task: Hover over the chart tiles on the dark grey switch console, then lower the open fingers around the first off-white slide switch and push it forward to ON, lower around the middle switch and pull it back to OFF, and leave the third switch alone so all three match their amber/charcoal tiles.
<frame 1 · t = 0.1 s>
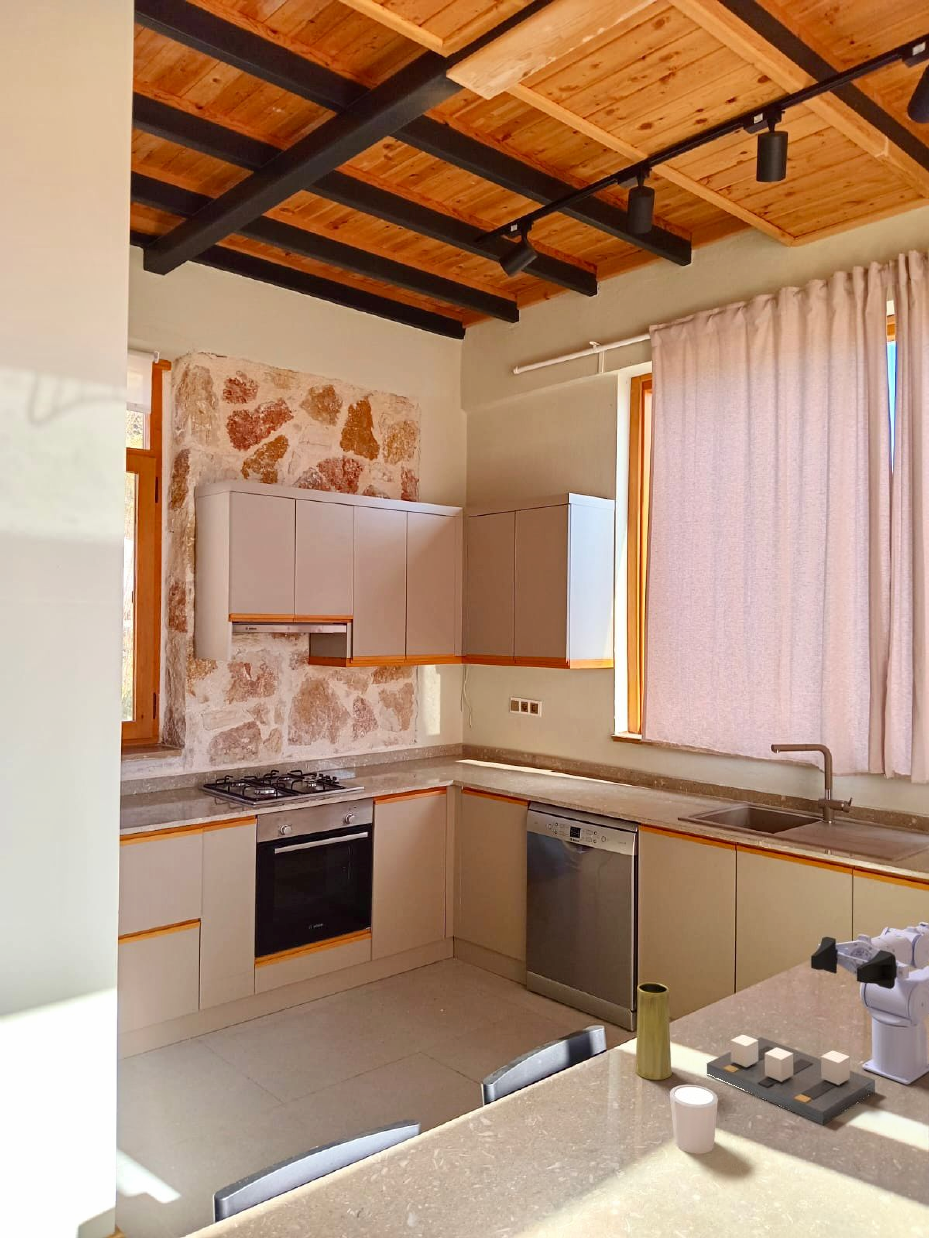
hand: (835, 968, 149), 22 cm above the countertop, tool horizontal, fingers open, 7 cm apart
switch b: (779, 1064, 154), point 4 cm above the countertop, slide at 6.5 cm
vase: (653, 1073, 160), on the countertop
switch c: (744, 1050, 159), point 4 cm above the countertop, slide at 6.5 cm
switch a: (835, 1067, 153), point 4 cm above the countertop, slide at 0.5 cm
console: (789, 1083, 156), on the countertop
white cup: (693, 1144, 138), on the countertop
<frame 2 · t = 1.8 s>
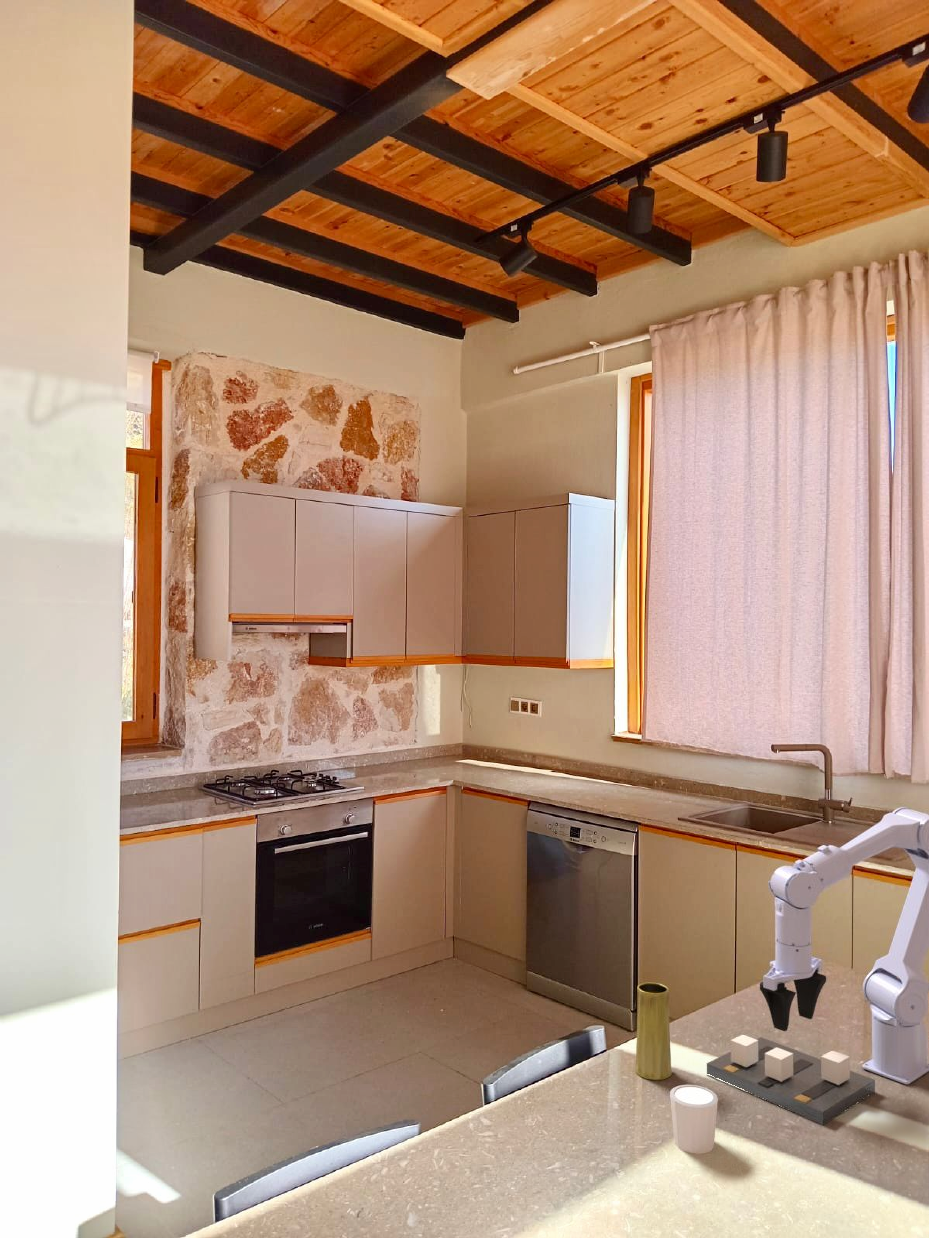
hand: (793, 1022, 157), 10 cm above the countertop, tool pointing down, fingers open, 7 cm apart
nothing on the countertop moved.
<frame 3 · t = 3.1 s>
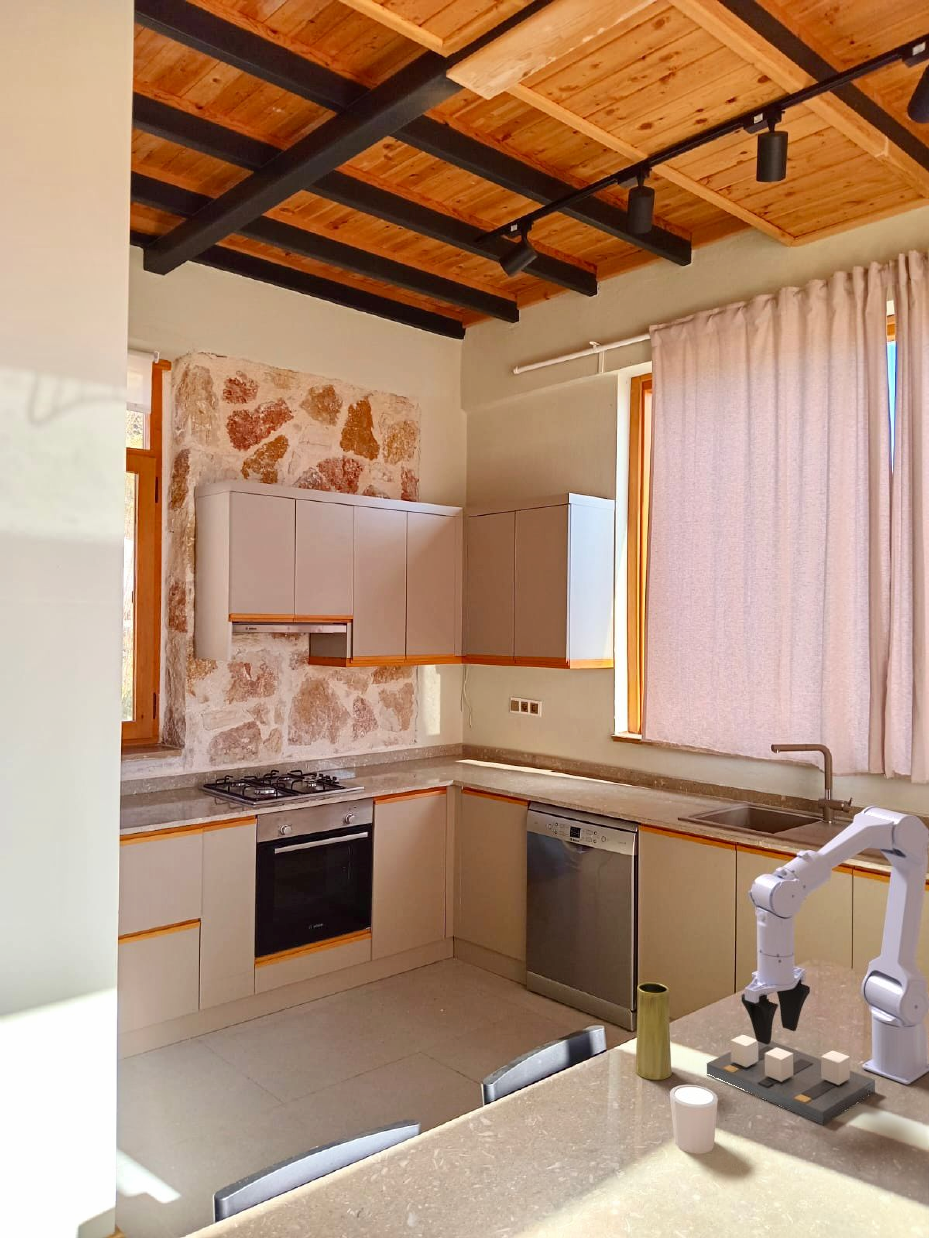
hand: (776, 1035, 153), 9 cm above the countertop, tool pointing down, fingers open, 7 cm apart
nothing on the countertop moved.
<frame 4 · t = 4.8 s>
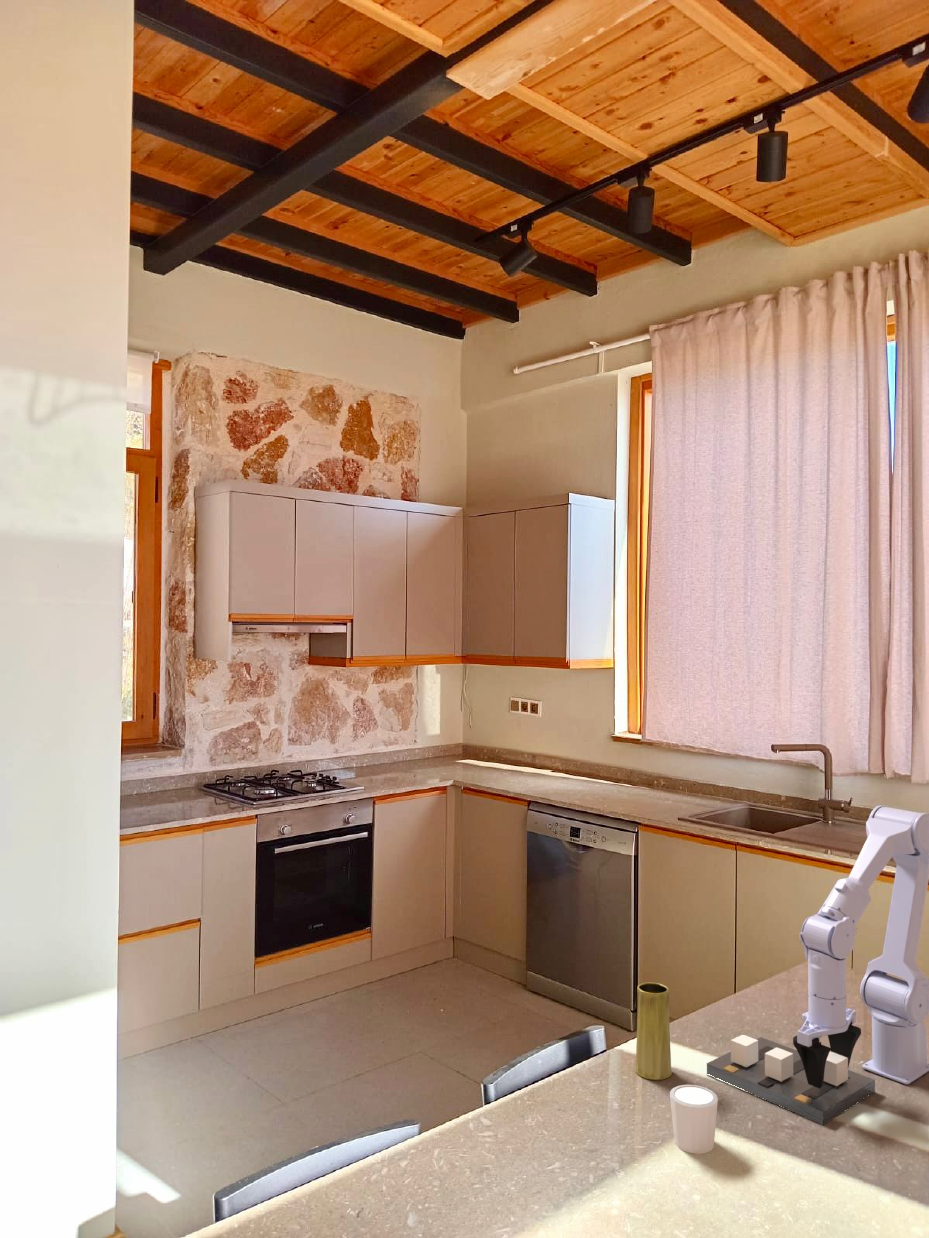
hand: (827, 1078, 151), 3 cm above the countertop, tool pointing down, fingers open, 7 cm apart
switch a: (833, 1068, 153), point 4 cm above the countertop, slide at 1.1 cm, touching gripper
everything else where it was.
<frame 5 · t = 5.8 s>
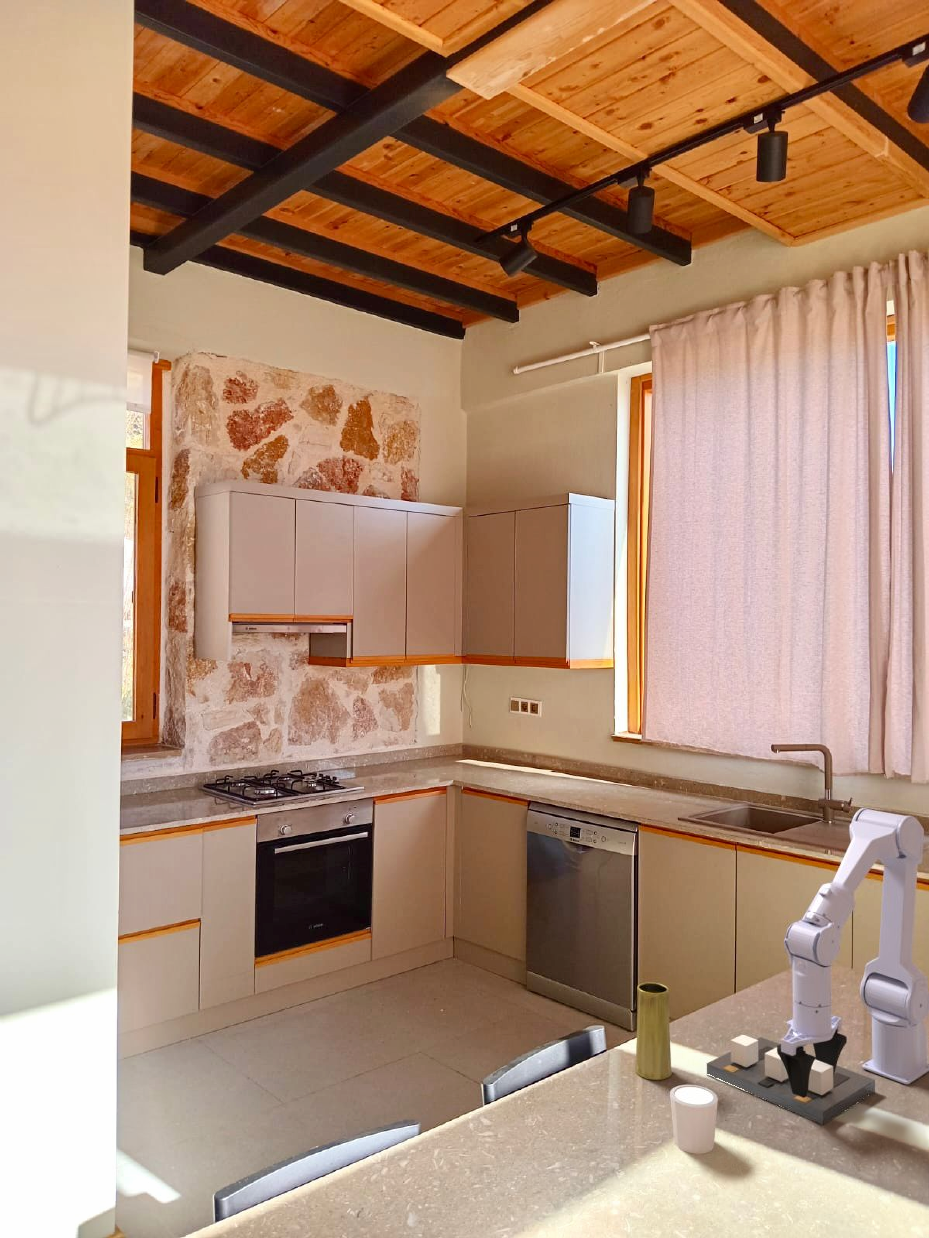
hand: (812, 1087, 149), 3 cm above the countertop, tool pointing down, fingers open, 7 cm apart
switch a: (818, 1076, 150), point 4 cm above the countertop, slide at 5.7 cm, touching gripper
everything else where it was.
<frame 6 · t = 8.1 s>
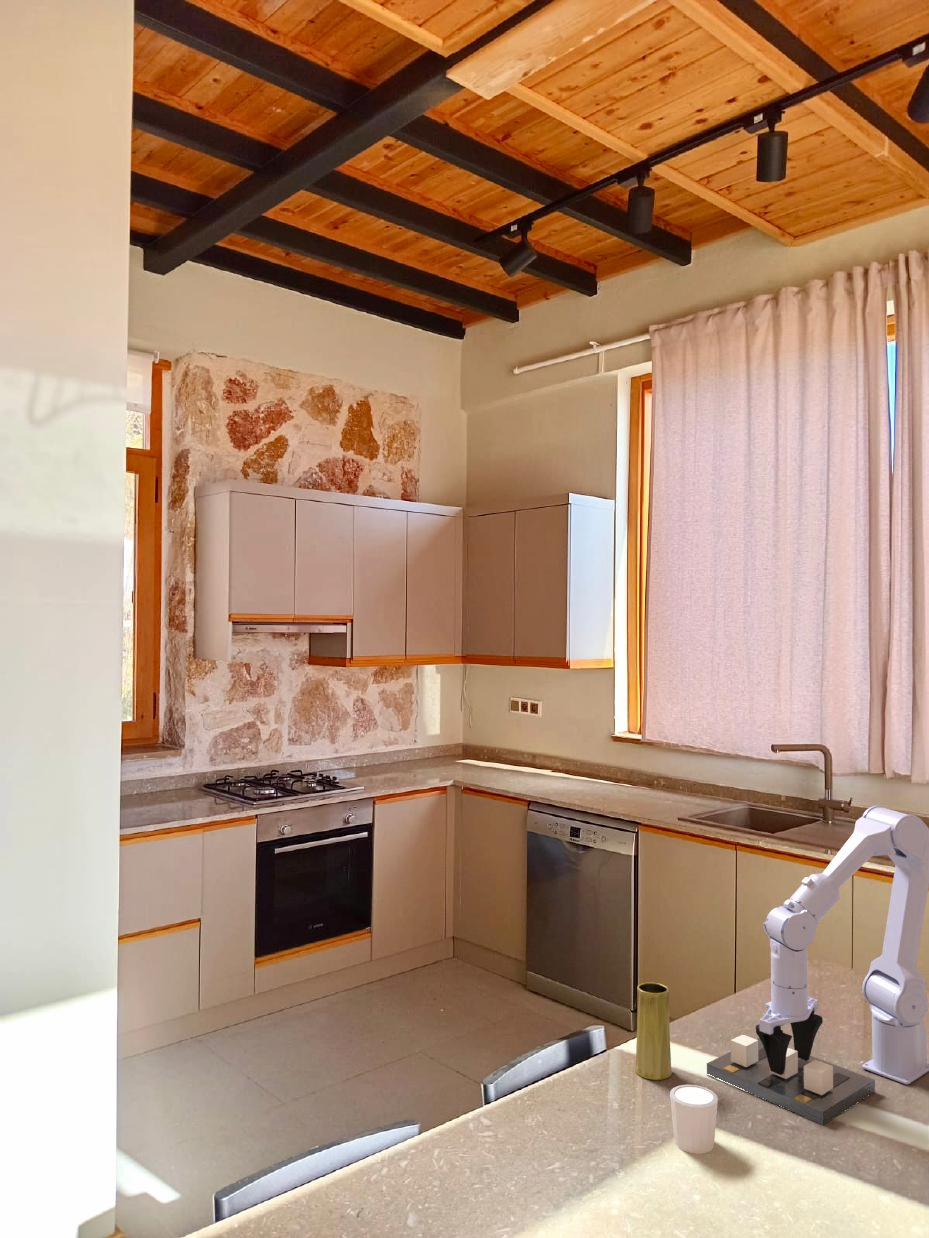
hand: (789, 1065, 156), 3 cm above the countertop, tool pointing down, fingers open, 7 cm apart
switch b: (783, 1061, 155), point 4 cm above the countertop, slide at 5.1 cm, touching gripper
switch a: (818, 1076, 150), point 4 cm above the countertop, slide at 5.7 cm
everything else where it was.
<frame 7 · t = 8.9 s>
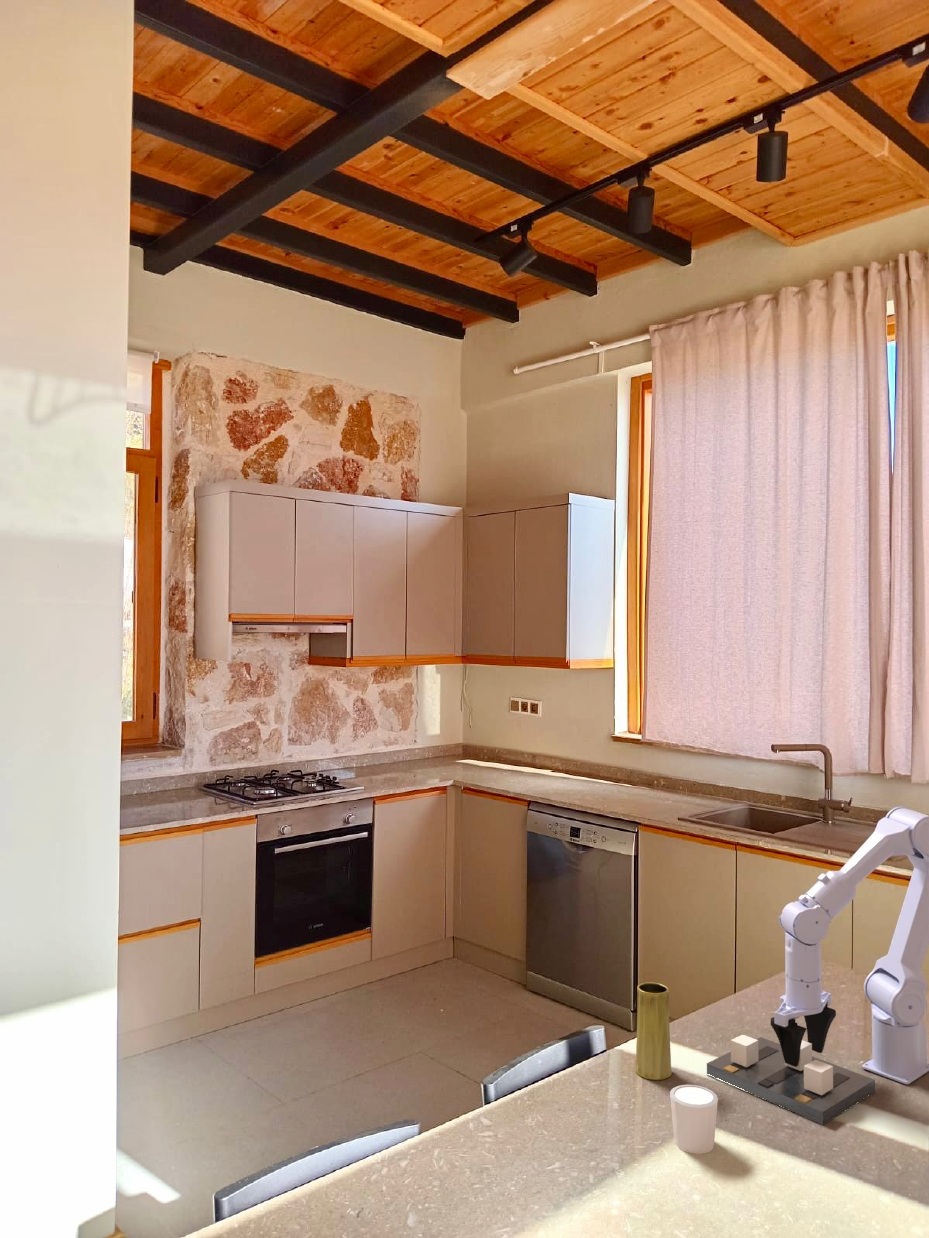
hand: (803, 1057, 159), 3 cm above the countertop, tool pointing down, fingers open, 7 cm apart
switch b: (798, 1053, 158), point 4 cm above the countertop, slide at 0.8 cm, touching gripper
everything else where it was.
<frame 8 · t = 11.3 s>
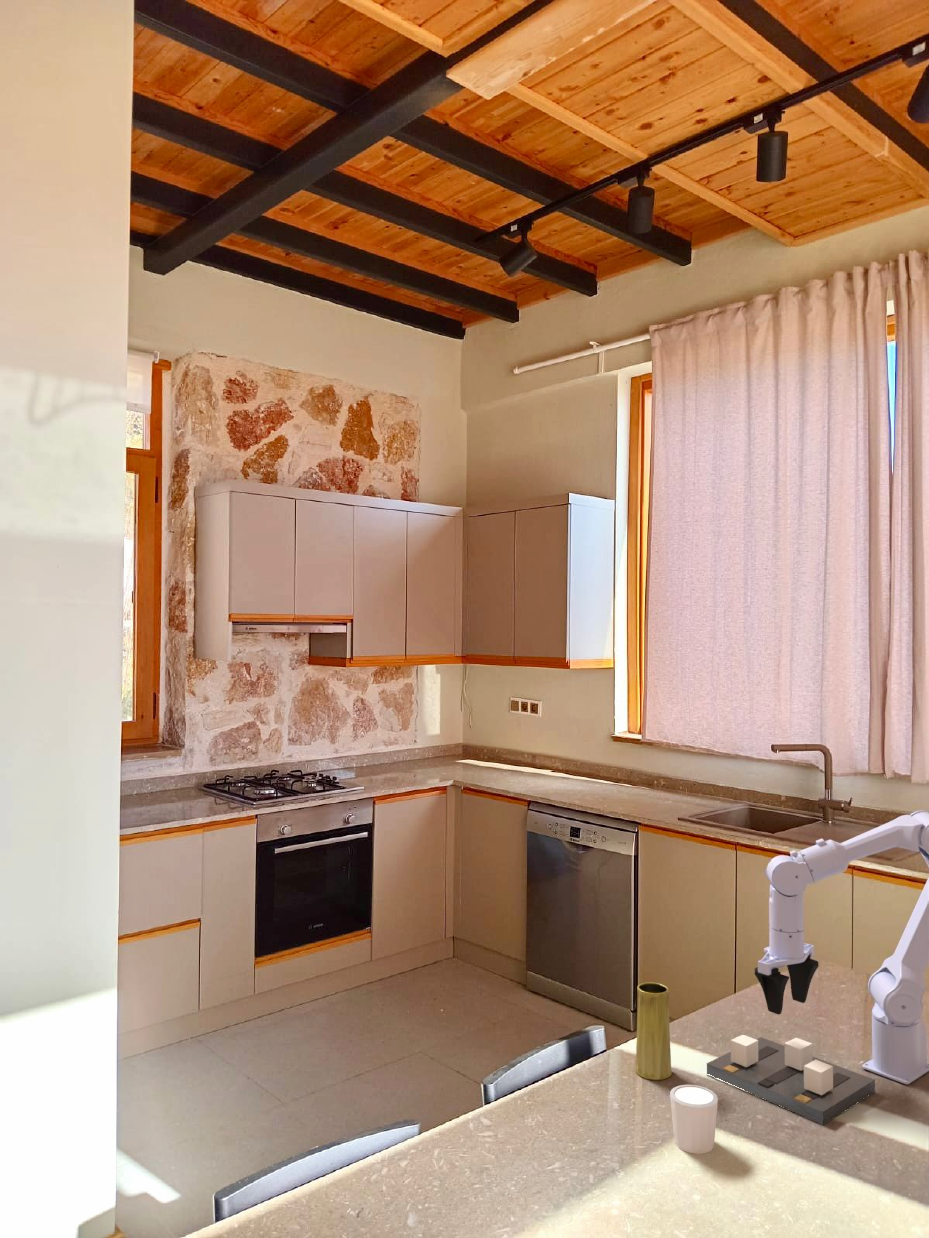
hand: (787, 1006, 163), 10 cm above the countertop, tool pointing down, fingers open, 7 cm apart
switch b: (798, 1053, 158), point 4 cm above the countertop, slide at 0.7 cm
everything else where it was.
at the end: switch a slide at 5.7 cm; switch b slide at 0.7 cm; switch c slide at 6.5 cm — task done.
